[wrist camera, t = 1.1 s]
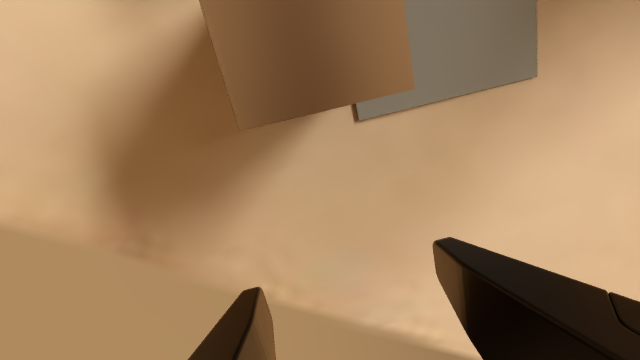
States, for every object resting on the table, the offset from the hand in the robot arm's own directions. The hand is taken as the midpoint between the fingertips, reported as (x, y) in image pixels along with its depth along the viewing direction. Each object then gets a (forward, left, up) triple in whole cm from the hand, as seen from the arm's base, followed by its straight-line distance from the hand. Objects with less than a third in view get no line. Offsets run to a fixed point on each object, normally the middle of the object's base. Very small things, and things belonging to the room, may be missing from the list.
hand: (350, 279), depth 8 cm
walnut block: (-1, -6, -12) cm, 13 cm away
